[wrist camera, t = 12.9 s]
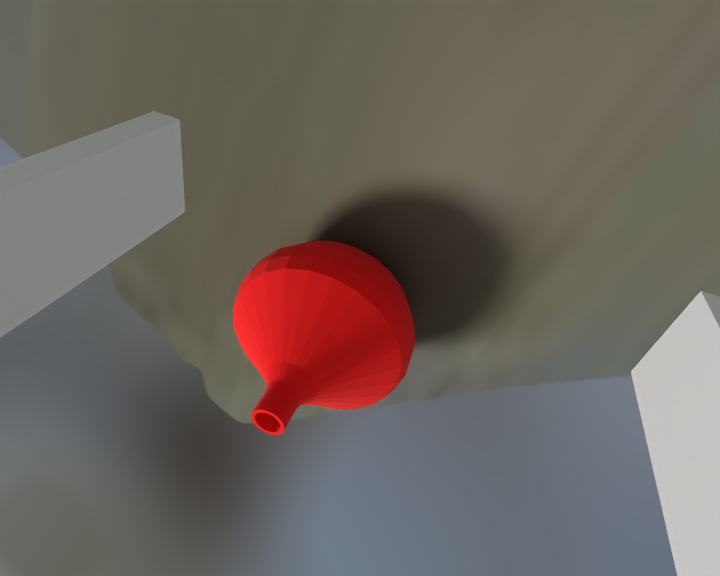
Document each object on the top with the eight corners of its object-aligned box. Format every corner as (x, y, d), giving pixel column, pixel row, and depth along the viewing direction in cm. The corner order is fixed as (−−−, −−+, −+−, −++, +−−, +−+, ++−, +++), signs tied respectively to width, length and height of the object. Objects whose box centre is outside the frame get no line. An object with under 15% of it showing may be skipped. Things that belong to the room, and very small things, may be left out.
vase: (347, 370, 58) (281, 508, 43) (245, 268, 54) (132, 382, 39) (463, 313, 47) (428, 470, 32) (347, 179, 43) (245, 290, 28)
